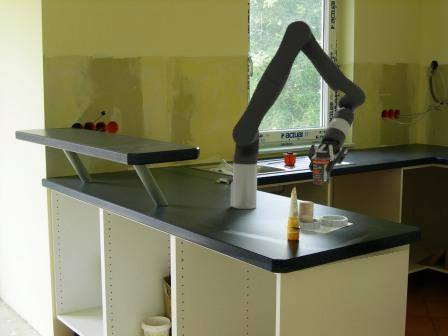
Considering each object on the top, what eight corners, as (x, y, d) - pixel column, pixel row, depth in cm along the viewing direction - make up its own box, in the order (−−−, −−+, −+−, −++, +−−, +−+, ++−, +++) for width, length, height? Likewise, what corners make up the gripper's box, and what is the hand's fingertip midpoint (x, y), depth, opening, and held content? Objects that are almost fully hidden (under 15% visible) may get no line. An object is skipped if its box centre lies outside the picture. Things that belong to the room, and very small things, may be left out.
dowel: (295, 226, 219) (296, 202, 217) (303, 223, 222) (304, 200, 221) (308, 228, 216) (308, 204, 214) (315, 226, 219) (316, 202, 218)
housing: (285, 229, 218) (285, 220, 218) (314, 220, 233) (315, 211, 233) (324, 237, 209) (325, 227, 209) (353, 227, 224) (353, 217, 224)
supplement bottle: (309, 183, 229) (309, 151, 228) (319, 181, 234) (320, 149, 232) (323, 185, 225) (323, 152, 224) (333, 183, 229) (334, 151, 228)
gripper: (315, 125, 237) (297, 162, 229) (351, 127, 228) (334, 165, 220) (322, 139, 242) (304, 175, 234) (358, 141, 233) (341, 179, 225)
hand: (319, 170), depth 227 cm, fingers closed on supplement bottle, 6 cm apart
